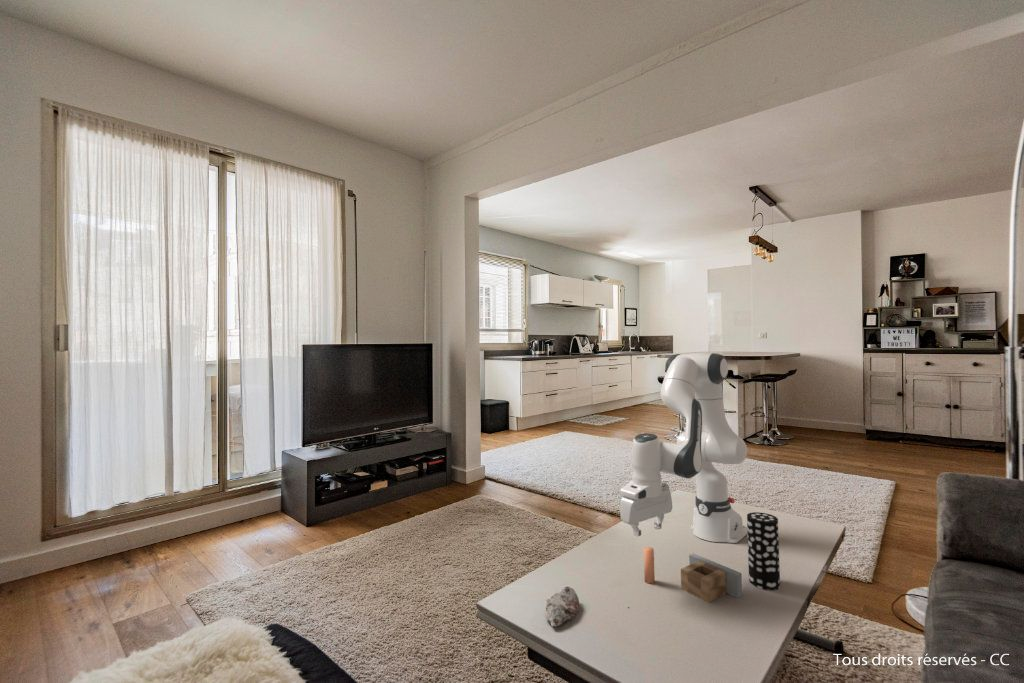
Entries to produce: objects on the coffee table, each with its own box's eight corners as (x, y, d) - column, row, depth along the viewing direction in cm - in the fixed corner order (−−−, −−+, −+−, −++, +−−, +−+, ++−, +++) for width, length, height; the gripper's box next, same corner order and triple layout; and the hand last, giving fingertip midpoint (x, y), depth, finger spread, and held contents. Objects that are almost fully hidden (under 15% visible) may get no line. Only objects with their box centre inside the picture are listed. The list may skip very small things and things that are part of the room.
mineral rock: (559, 633, 118) (559, 616, 118) (535, 621, 123) (535, 605, 123) (590, 608, 129) (590, 593, 129) (567, 598, 134) (566, 583, 134)
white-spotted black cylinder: (754, 573, 145) (752, 510, 146) (783, 582, 139) (781, 516, 140) (744, 583, 140) (742, 517, 140) (775, 593, 134) (773, 524, 134)
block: (699, 580, 142) (699, 560, 142) (726, 592, 135) (726, 572, 135) (681, 589, 137) (680, 568, 137) (708, 602, 130) (707, 581, 130)
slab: (693, 573, 146) (693, 553, 146) (742, 595, 133) (741, 573, 133) (689, 575, 145) (689, 554, 145) (738, 597, 132) (737, 575, 132)
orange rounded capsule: (649, 578, 144) (648, 546, 144) (656, 582, 142) (655, 549, 142) (642, 580, 143) (641, 548, 143) (650, 584, 140) (649, 552, 140)
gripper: (660, 479, 151) (661, 521, 151) (616, 490, 140) (617, 536, 139) (676, 483, 146) (677, 527, 145) (632, 495, 134) (633, 543, 134)
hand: (647, 532), depth 142 cm, fingers open, 8 cm apart
